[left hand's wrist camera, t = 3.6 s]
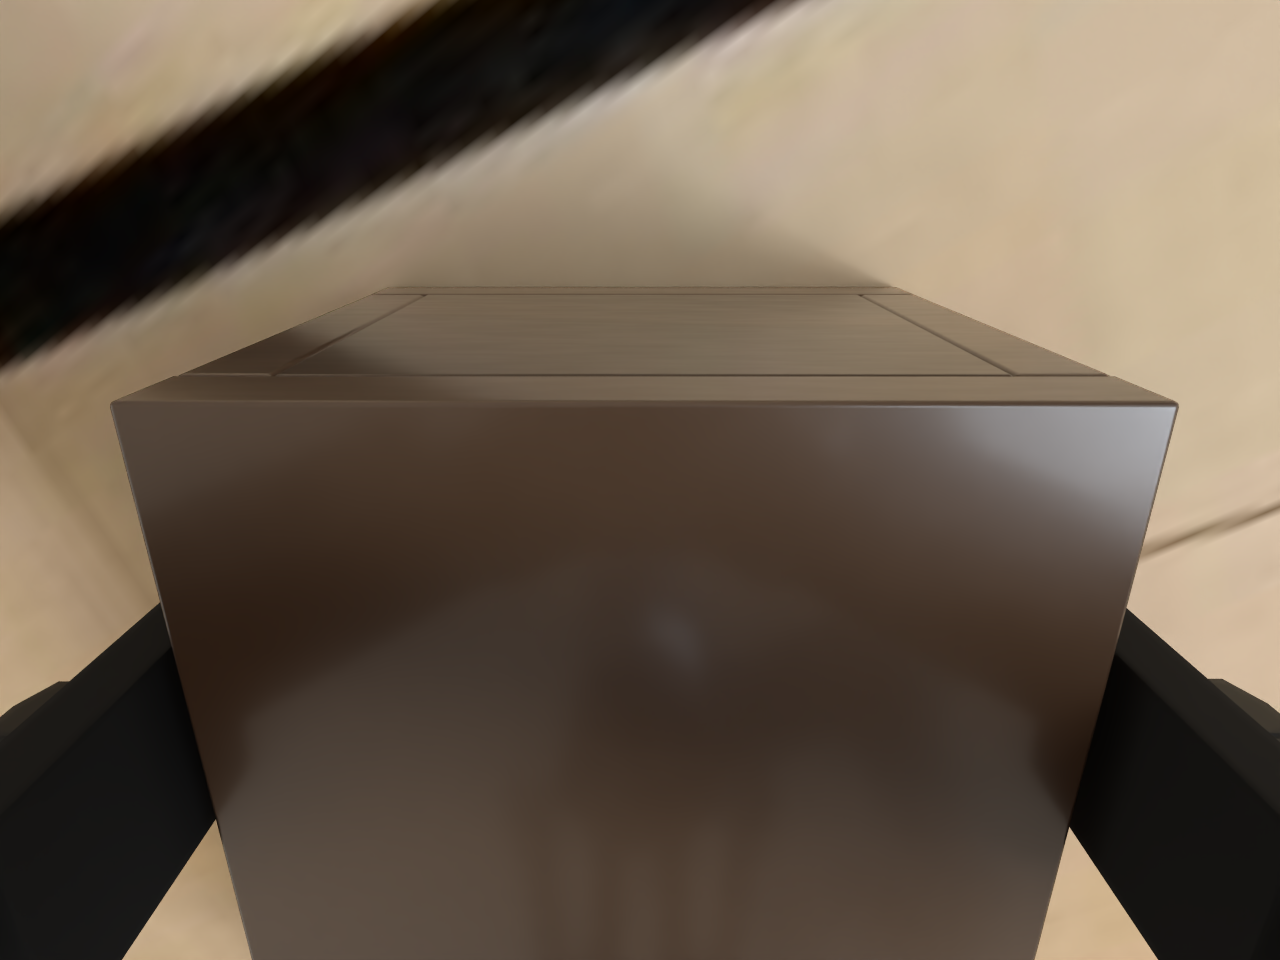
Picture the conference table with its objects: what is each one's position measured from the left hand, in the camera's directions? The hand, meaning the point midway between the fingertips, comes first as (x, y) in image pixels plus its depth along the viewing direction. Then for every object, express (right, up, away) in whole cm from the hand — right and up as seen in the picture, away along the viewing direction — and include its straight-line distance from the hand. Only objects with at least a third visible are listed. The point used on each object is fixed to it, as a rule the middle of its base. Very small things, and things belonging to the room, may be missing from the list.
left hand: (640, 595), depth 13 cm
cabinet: (0, -3, +6) cm, 7 cm away
